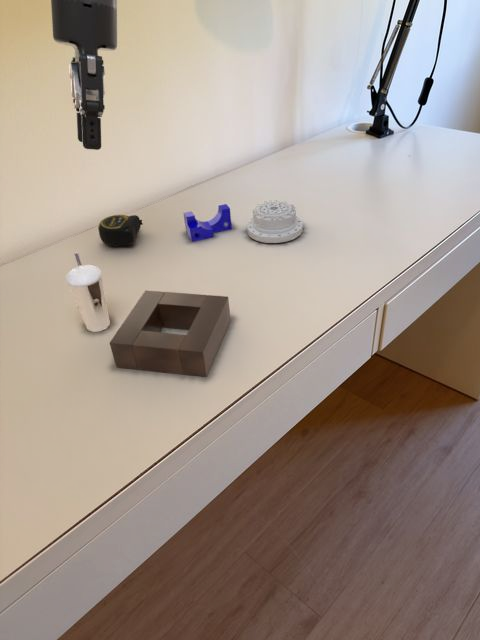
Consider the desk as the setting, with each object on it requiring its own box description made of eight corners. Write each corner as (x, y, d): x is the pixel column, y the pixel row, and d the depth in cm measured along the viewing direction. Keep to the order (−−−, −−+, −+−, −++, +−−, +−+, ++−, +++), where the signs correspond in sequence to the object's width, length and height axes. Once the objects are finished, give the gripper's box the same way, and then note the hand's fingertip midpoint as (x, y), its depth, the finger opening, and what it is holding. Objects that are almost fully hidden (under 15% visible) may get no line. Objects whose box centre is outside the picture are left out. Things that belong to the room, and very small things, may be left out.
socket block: (116, 367, 67) (109, 342, 64) (150, 313, 76) (145, 290, 73) (206, 377, 65) (202, 352, 62) (230, 320, 74) (228, 296, 71)
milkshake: (110, 310, 77) (93, 248, 71) (117, 329, 73) (100, 266, 67) (78, 318, 76) (58, 256, 69) (84, 338, 72) (64, 275, 66)
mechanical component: (251, 247, 90) (308, 241, 91) (249, 224, 87) (308, 217, 88) (243, 222, 98) (296, 216, 98) (242, 200, 95) (296, 193, 96)
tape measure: (135, 250, 91) (130, 230, 89) (96, 250, 92) (91, 230, 89) (144, 231, 96) (140, 212, 94) (108, 232, 97) (103, 213, 95)
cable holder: (191, 241, 93) (188, 220, 90) (186, 233, 95) (183, 212, 93) (234, 232, 95) (232, 211, 92) (228, 224, 97) (226, 204, 95)
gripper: (49, 3, 68) (56, 138, 74) (52, -13, 56) (61, 149, 63) (109, 13, 70) (111, 142, 77) (125, 0, 59) (125, 153, 65)
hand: (89, 145), depth 70 cm, fingers open, 8 cm apart
